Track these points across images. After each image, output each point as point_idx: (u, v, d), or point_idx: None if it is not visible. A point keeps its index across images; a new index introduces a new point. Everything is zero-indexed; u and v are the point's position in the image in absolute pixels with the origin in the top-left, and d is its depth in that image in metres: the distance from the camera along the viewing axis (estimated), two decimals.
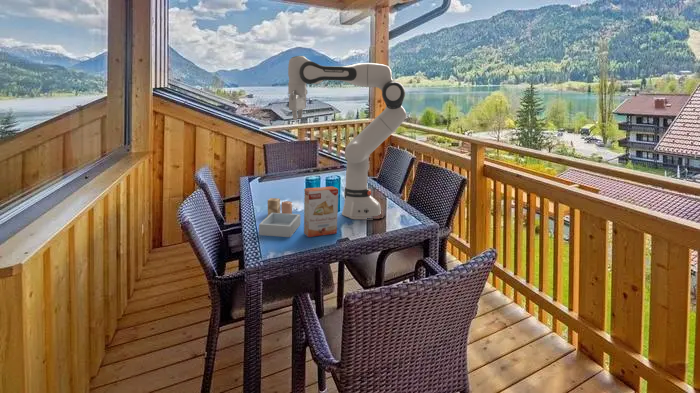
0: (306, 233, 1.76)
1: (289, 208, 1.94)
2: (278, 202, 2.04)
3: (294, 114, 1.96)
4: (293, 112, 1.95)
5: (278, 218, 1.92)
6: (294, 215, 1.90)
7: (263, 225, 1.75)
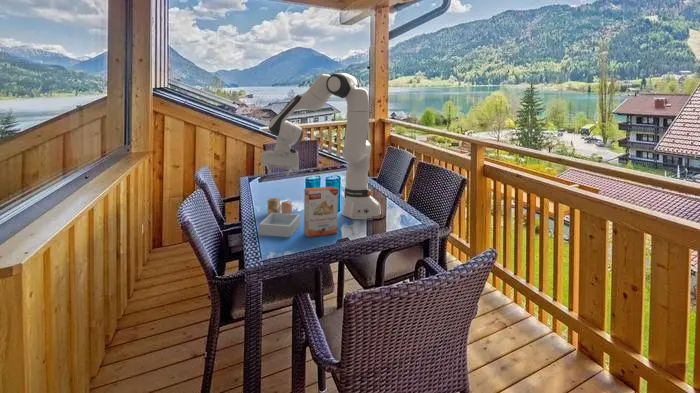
0: (306, 233, 1.76)
1: (289, 208, 1.94)
2: (278, 202, 2.04)
3: (267, 168, 2.13)
4: (267, 167, 2.14)
5: (278, 218, 1.92)
6: (294, 215, 1.90)
7: (263, 225, 1.75)
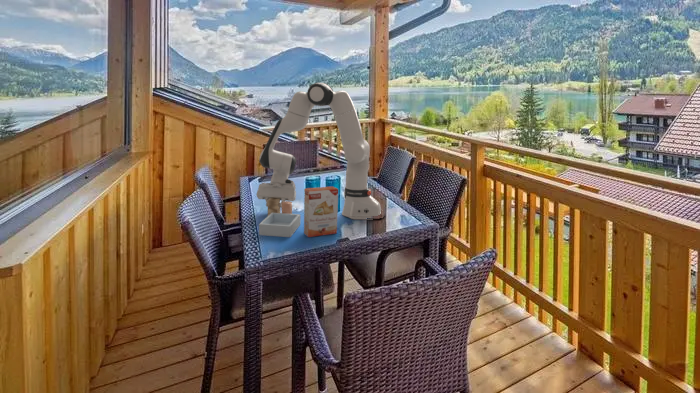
0: (306, 233, 1.76)
1: (289, 208, 1.94)
2: (278, 202, 2.04)
3: (266, 201, 2.07)
4: None
5: (278, 218, 1.92)
6: (294, 215, 1.90)
7: (263, 225, 1.75)
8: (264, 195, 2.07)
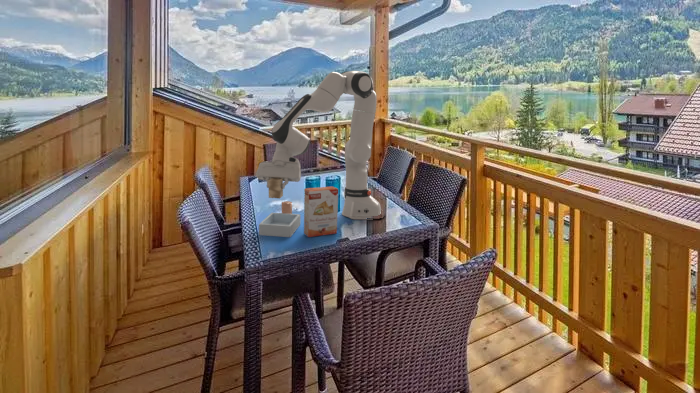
0: (306, 233, 1.76)
1: (289, 208, 1.94)
2: (280, 182, 1.79)
3: None
4: None
5: (278, 218, 1.92)
6: (294, 215, 1.90)
7: (263, 225, 1.75)
8: (265, 175, 1.82)
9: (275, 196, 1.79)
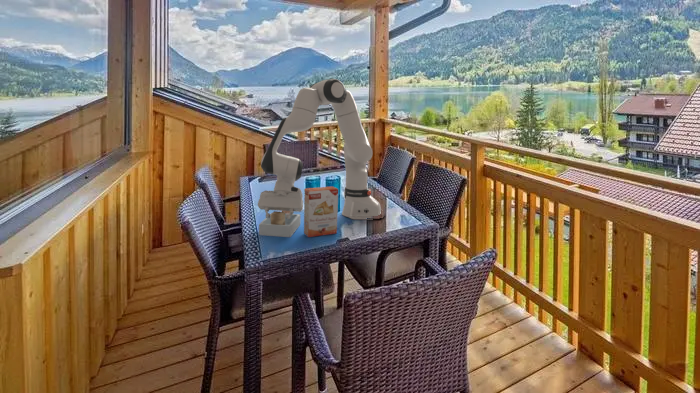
0: (306, 233, 1.76)
1: None
2: (283, 216, 1.78)
3: None
4: None
5: None
6: (294, 215, 1.90)
7: (263, 225, 1.75)
8: (267, 205, 1.80)
9: None
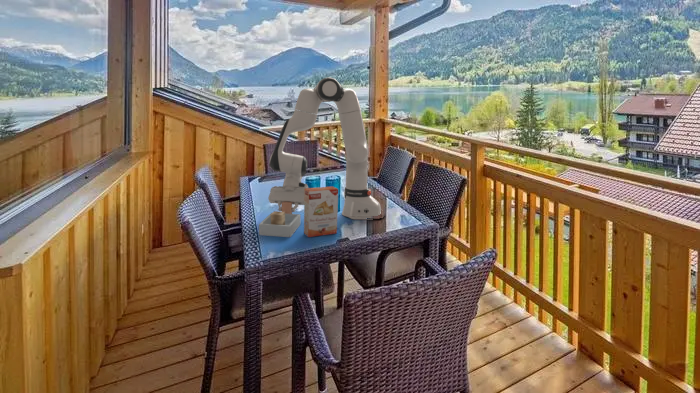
0: (306, 233, 1.76)
1: (289, 208, 1.94)
2: (283, 216, 1.78)
3: (278, 205, 1.98)
4: (278, 204, 1.99)
5: None
6: (294, 215, 1.90)
7: (263, 225, 1.75)
8: (276, 199, 1.98)
9: None
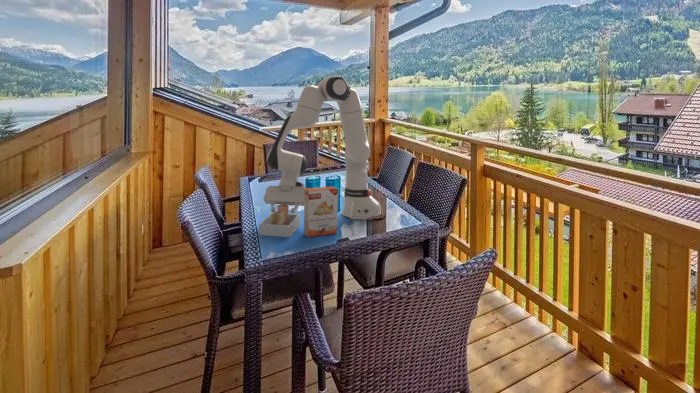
0: (306, 233, 1.76)
1: (285, 212, 1.84)
2: (283, 216, 1.78)
3: (271, 206, 1.88)
4: None
5: None
6: (294, 215, 1.90)
7: (263, 225, 1.75)
8: (272, 199, 1.87)
9: None
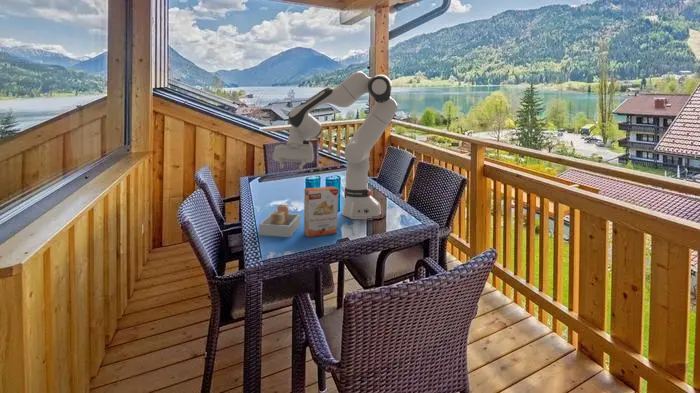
0: (306, 233, 1.76)
1: (285, 212, 1.84)
2: (283, 216, 1.78)
3: None
4: (279, 161, 1.98)
5: None
6: (294, 215, 1.90)
7: (263, 225, 1.75)
8: (281, 156, 1.97)
9: None
